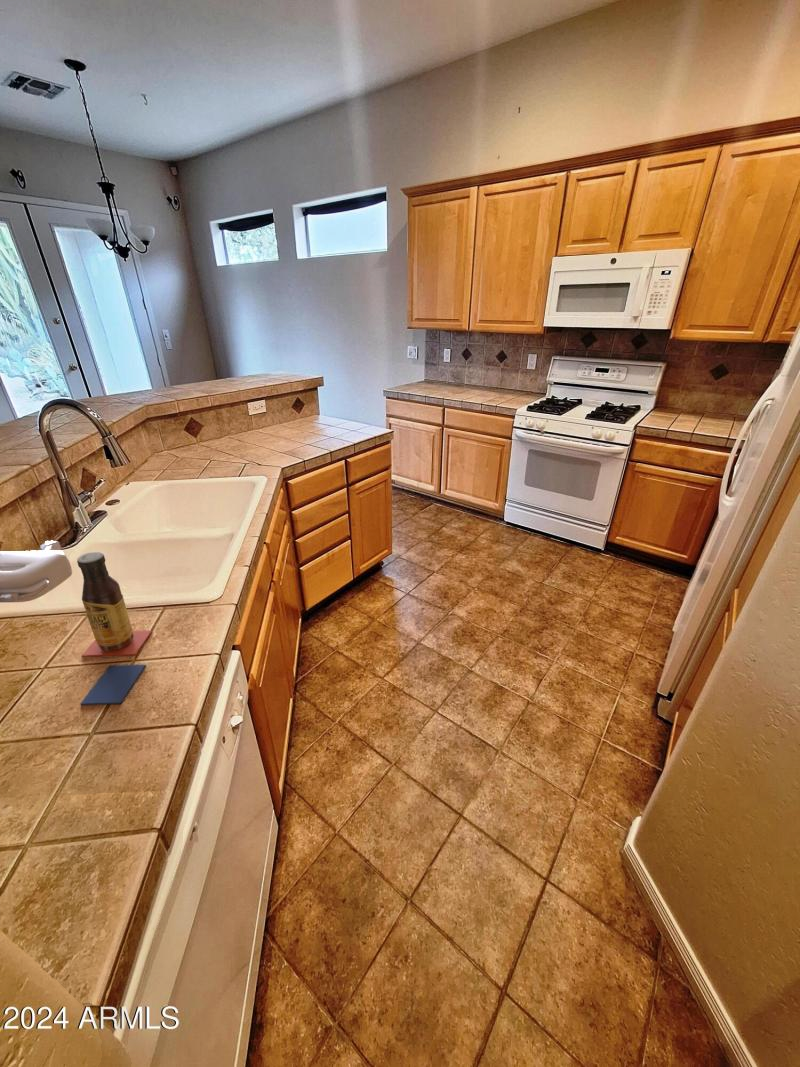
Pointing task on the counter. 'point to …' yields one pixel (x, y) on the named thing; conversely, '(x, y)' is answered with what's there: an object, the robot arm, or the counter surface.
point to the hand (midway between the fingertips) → (21, 545)
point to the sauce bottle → (104, 604)
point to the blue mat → (113, 685)
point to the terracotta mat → (128, 650)
